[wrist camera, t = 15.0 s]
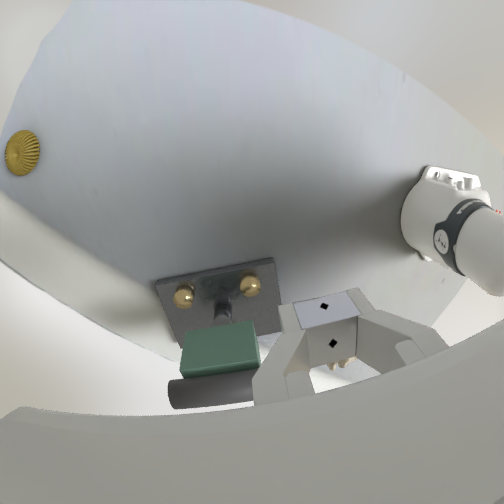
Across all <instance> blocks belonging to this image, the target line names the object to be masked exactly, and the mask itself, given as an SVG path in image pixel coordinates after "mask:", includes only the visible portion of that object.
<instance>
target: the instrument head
mask: <svg viewBox="0 0 504 504" xmlns="http://www.w3.org/2000/svg"><path fill="white" fill-rule="evenodd" d="M260 366H261V360H260V353H259V346H258V341H257V337H256V333H255V329H254V325H253V320H249V321H244V322H238V323H233V324H231V323H230V321H228V322H223V323H217V324H211V327H210V328H204V329H197V330H191V331H186V332H185V338H184V344H183V351H182V357H181V363H180V372H181V374H182V376H183V378H184V379H176V380H170V381H169V383H168V397H169V401H170V404H171V406H172V407H173V408H174V409H187V408H198V407H209V406H218V405H226V404H233V403H240V402H247V401H253V400H254V399H253V388H252V378H253V376H254V375H255V373H256V372H257V371H258V369H259V368H260Z"/></svg>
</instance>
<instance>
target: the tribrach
mask: <svg viewBox="0 0 504 504" xmlns="http://www.w3.org/2000/svg"><path fill="white" fill-rule="evenodd" d="M155 287H156V290H157V292H158V295H159V298H160V300H161V303H162V305H163V308H164V310H165V313H166V315H167V318H168V320H169V323H170V325H171V327H172V330H173V332H174V334H175V337H176V339H177V341H178V344H179V346H180V348H181V349H182V348H183V344H184V338H185V332H186V331H191V330H197V329H204V328H210V327H211V324H217V323H223V322H228V321H230V323H231V324H233V323H238V322H244V321H249V320H253V325H254V329H255V333H256V336H261V335H266V334H271V333H276V332H281V331H282V330H281V324H280V318H279V312H278V306H279V305H282V304H281V298H280V292H279V286H278V280H277V274H276V268H275V262H274V259H273V258H268V259H263V260H258V261H253V262H248V263H243V264H238V265H233V266H228V267H223V268H218V269H213V270H208V271H203V272H198V273H193V274H188V275H183V276H177V277H172V278H167V279H162V280H158V281H157V283H156V285H155Z"/></svg>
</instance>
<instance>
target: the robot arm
mask: <svg viewBox="0 0 504 504" xmlns="http://www.w3.org/2000/svg"><path fill="white" fill-rule="evenodd" d="M435 172H436V174H435ZM401 229H402V233H403V236H404V238H405V240H406V242H407V243H408V244H409V245H410V246H411V247H412V248H414V249H416V250H418V251H419V252H420V254H421V255H422V257H423V258H424V259H425V260H426V261H432V260H433V261H435V262H437V263H439V264H440V265H442V266H444V267H446V268H447V269H452V270H453V271H455V272H456V273H459V274H460V275H462V276H467V277H468V278H469V279H471V280H472V281H473V282H474V283H476V284H477V285H478V286H479V287H481V288H482V289H483V290H485V291H486V292H487V293H488V294H490V295H493V296H499V297H500V296H504V215H502V214H501V211H500V212H499V213H498V210H496V212H495V211H494V210H493V209H492V208H491V204H490V198H489V195H488V193H487V191H486V190H484V189H482V188H481V185H480V181H479V178H478V177H477V176H476V175H474V174H470V173H466V172H461V171H456V170H451V169H446V168H441V167H435V166H427V167H426V168H425V170H424V172H423V174H422V177H421V179H420V181H419V182H418V183H417V184H416V185H415V186H414V187H413V188H412V189H411V191H410V192H409V194H408V195H407V197H406V199H405V202H404V204H403V208H402V212H401ZM278 312H279V318H280V324H281V330H282V334H281V335H280V337H279V338H278V340H277V341H276V343H275V345H274V346H273V348H272V349H271V351H270V352H269V354H268V355H267V357H266V358H265V360H264V361H263V363H262V365H261V366H260V368H259V369H258V371H257V372H256V373H255V375H254V376H253V378H252V388H253V399H254V406H252V407H245V408H238V409H231V410H224V411H215V412H205V413H193V414H179V415H159V416H112V415H91V414H78V413H67V412H58V411H50V410H43V409H37V408H31V407H19V408H17V409H16V410H14V411H12V412H10V413H9V414H7V415H6V416H5V417H3V418H2V419H0V504H504V319H503V320H501V321H499V322H497V323H496V324H494V325H492V326H490V327H489V328H487V329H485V330H483V331H481V332H480V333H477V334H476V335H474V336H472V337H470V338H468V339H466V340H464V341H462V342H460V343H457V344H455V345H453V346H451V347H449V346H448V345H447V344H446V343H445V341H444V340H443V339H442V338H441V337H440V335H439V334H438V333H437V332H436V331H435V330H434V329H433V328H430V327H427V326H424V325H421V324H419V323H416V322H413V321H410V320H407V319H404V318H402V317H399V316H396V315H393V314H390V313H388V312H385V311H382V310H377V311H376V310H375V309H374V307H373V306H372V305H371V303H370V302H369V301H368V299H367V298H366V297H365V295H364V294H363V293H362V292H361V290H360V289H359V288H353V289H350V290H346V291H343V292H340V293H336V294H332V295H328V296H324V297H320V298H319V297H318V298H313V299H309V300H304V301H299V302H293V303H288V304H284V305H279V306H278ZM355 356H356V358H358V359H359V360H361V361H363V362H364V363H366V364H367V365H369V366H370V367H372V368H374V369H375V370H377V371H378V372H380V373H381V375H378V376H375V377H372V378H369V379H366V380H363V381H359V382H356V383H353V384H349V385H346V386H343V387H339V388H335V389H332V390H328V391H324V392H320V393H316V394H315V392H314V388H313V385H312V382H311V379H310V376H309V372H310V368H314V367H317V366H321V365H325V364H328V363H332V362H336V361H340V360H344V359H348V358H352V357H355Z"/></svg>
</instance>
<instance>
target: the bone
mask: <svg viewBox="0 0 504 504" xmlns="http://www.w3.org/2000/svg"><path fill="white" fill-rule="evenodd" d="M355 360H356V356H355V357H352V358H348V359H344V360H340V361H336V362H332V363H328V364H327V365H328V367H329V369H330V370H332V371H333V370H335V367H336V364H337V363H338V365H339V367H341V368H345V367H346V365H347V364H349V363H350V362H353V361H355Z"/></svg>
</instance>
